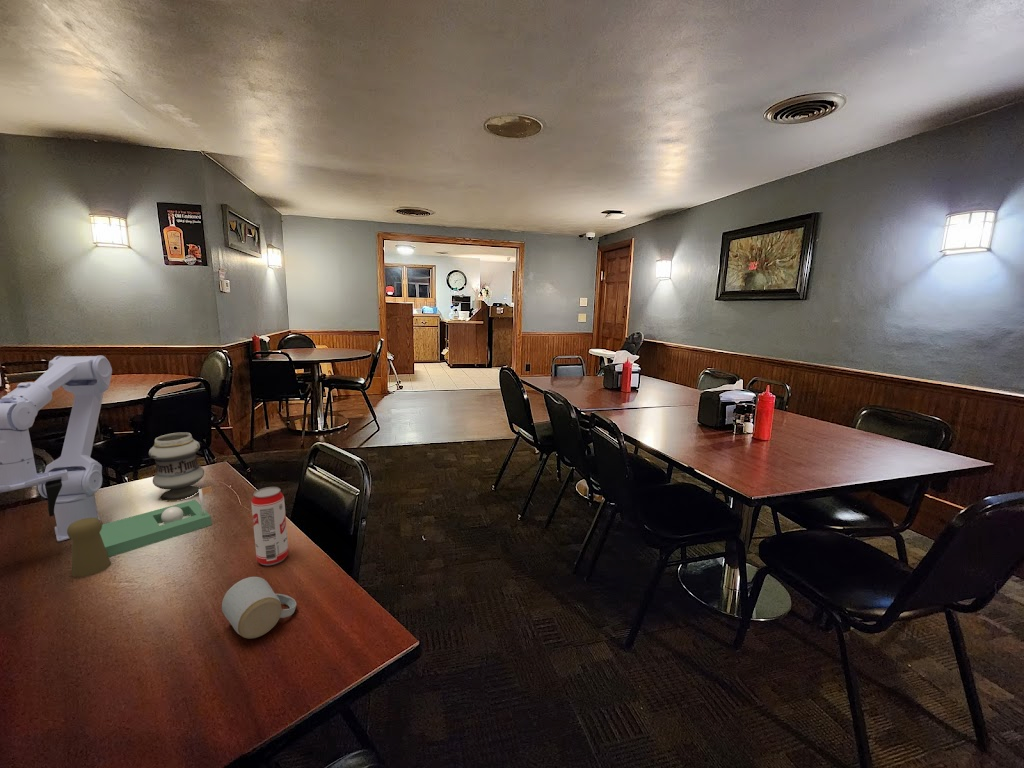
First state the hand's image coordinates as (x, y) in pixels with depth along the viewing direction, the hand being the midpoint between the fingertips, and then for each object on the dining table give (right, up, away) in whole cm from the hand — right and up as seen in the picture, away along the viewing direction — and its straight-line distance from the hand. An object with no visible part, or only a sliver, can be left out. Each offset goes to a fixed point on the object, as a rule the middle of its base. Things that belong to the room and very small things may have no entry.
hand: (25, 521), depth 91 cm
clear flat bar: (+25, -4, +20) cm, 32 cm away
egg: (+16, -5, +19) cm, 25 cm away
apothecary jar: (+5, -4, +36) cm, 37 cm away
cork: (+14, -10, 0) cm, 17 cm away
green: (+14, -8, +16) cm, 22 cm away
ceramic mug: (+59, -14, -14) cm, 62 cm away
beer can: (+50, -10, +5) cm, 51 cm away
